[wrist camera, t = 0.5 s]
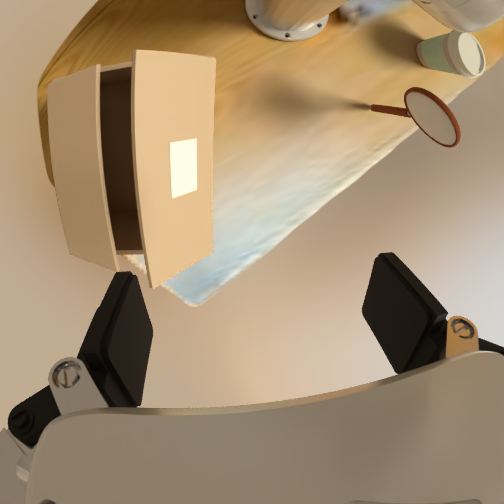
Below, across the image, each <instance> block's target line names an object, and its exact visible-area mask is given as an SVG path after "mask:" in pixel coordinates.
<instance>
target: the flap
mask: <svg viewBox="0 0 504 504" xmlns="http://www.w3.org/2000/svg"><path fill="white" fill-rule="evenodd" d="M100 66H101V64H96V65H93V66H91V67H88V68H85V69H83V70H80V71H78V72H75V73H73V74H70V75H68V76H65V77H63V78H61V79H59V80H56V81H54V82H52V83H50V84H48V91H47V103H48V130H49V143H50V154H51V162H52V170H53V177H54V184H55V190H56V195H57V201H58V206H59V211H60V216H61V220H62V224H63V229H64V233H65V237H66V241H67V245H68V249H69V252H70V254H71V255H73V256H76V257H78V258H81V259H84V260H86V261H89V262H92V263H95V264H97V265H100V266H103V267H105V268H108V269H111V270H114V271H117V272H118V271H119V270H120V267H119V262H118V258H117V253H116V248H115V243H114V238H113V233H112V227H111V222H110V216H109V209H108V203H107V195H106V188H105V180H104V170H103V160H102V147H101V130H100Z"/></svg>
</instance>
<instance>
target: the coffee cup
mask: <svg viewBox="0 0 504 504" xmlns="http://www.w3.org/2000/svg"><path fill="white" fill-rule="evenodd" d="M416 51H417V56H418V59H419V60H420V62H421V63H422V65H423V66H425V67H426V68H428V69H433V70H438V71H444V72H449V73H454V74H459V75H463V76H464V77H466V78H476V77H477V76H480V75H482V74H483V72H484V70H485V56H484V53H483V50H482V48H481V46H480V44H479V42H478V41H477V40H476V38H475V37H474V36H472V35H471V34H469V33H466V32H459V31H455V30H453V31H451V32H450V33H448V34H444V35H441V36H437V37H434V38H430V39H427V40H424V41H421V42H419V43H418V45H417V49H416Z"/></svg>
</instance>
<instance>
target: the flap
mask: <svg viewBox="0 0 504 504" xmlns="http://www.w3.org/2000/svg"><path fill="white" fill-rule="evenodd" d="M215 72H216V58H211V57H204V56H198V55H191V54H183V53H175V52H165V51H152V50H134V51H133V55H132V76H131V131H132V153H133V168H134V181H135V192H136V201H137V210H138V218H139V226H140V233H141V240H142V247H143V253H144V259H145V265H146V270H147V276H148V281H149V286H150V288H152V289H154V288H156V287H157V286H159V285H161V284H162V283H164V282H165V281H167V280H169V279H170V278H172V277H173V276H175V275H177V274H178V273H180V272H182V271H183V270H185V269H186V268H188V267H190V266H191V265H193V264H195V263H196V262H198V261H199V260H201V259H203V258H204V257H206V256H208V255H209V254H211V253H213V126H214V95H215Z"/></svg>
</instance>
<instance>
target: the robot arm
mask: <svg viewBox="0 0 504 504" xmlns="http://www.w3.org/2000/svg"><path fill="white" fill-rule="evenodd" d="M347 1H349V0H245V9H246V13H247V15H248V18H249V19H250V21H251V22H252V24H253V25H254V26H255V27H256V28H257V29H258V30H260V31H261V32H263V33H264V34H266V35H268V36H270V37H272V38H275V39H278V40H283V41H302V40H306V39H309V38H311V37H313V36H315V35H316V34H318V33H319V32H320V31H321V30H322V29H323V28H324V27H325V25H326V23H327V21H328V17H329V13H330V12H332V11H333V10H335V9H336V8H338V7H339V6H341V5H343V4H344V3H346V2H347ZM412 1H413V2H414V3H416V4H417V5H418V6H420V7H421V8H422V9H423V10H425V11H426V12H427V13H428V14H429V15H431V16H432V17H433V18H435V19H436V20H437V21H439V22H440V23H441V24H443V25H445V26H446V27H448V28H450V29H452V30H455V31H459V32H475V31H479V30H482V29H485V28H487V27H489V26H491V25H493V24H494V23H496V22H497V21H499V20H500V19H502V18H503V17H504V0H412ZM253 17H256V19H254V18H253ZM317 26H319V27H317ZM285 35H287V36H288V38H286V37H285ZM362 313H363V316H364V318H365V320H366V321H367V323H368V325H369V326H370V328H371V330H372V331H373V333H374V335H375V337H376V339H377V340H378V342H379V344H380V346H381V347H382V349H383V351H384V353H385V355H386V356H387V358H388V360H389V362H390V364H391V365H392V367H393V369H394V371H395V372H396V373H397V374H398V375H395V376H392V377H388V378H386V379H382V380H378V381H374V382H371V383H367V384H363V385H359V386H356V387H351V388H347V389H343V390H339V391H334V392H329V393H324V394H319V395H314V396H308V397H303V398H297V399H290V400H283V401H276V402H268V403H260V404H251V405H240V406H229V407H228V406H227V407H210V408H137V406H140V405H141V402H142V395H143V389H144V382H145V376H146V370H147V364H148V358H149V353H150V348H151V343H152V338H153V328H152V324H151V321H150V319H149V315H148V312H147V309H146V306H145V302H144V299H143V296H142V292H141V289H140V285H139V282H138V278H137V276H136V275H133V274H132V272H130V271H129V272H128V271H127V272H116V273H115V275H114V277H113V280H112V281H111V283H110V285H109V288H108V290H107V292H106V294H105V296H104V299H103V300H102V303H101V305H100V307H98V309H97V310H96V313H95V315H94V317H93V319H92V322H91V324H90V326H89V329H88V331H87V333H86V336H85V338H84V341H83V343H82V346H81V348H80V351H79V353H78V356H77V358H74V357H67V358H64V359H61V360H59V361H58V362H57V363H55V364H54V366H53V367H52V368H51V370H50V372H49V377H48V380H49V385H48V386H47V387H45V388H43V389H42V390H40V391H39V392H37V393H36V394H34V395H33V396H31V397H29V398H28V399H26V400H25V401H23V402H21V403H20V404H18V405H17V406H15V407H14V408H13V409H12V411H11V412H10V414H9V417H8V429H7V430H6V429H5V428H3V429H2V431H1V432H0V504H504V347H501V346H499V345H496V344H493V343H491V342H488V341H486V340H483V339H481V338H478V332H477V329H476V327H475V325H474V324H473V323H472V322H471V321H470V320H468V319H466V318H464V317H461V316H453V317H451V318H450V319H449V320H448V321H447V320H446V316H447V314H448V312H447V311H446V310H445V308H444V307H443V306H442V305H441V304H440V302H439V301H438V300H437V299H436V298H435V297H434V296H433V294H432V293H431V292H430V291H429V290H428V289H427V288H426V287H425V286H424V285H423V283H422V282H421V281H420V280H419V279H418V278H417V277H416V276H415V275H414V274H413V273H412V271H411V270H410V269H409V268H408V267H407V266H406V265H405V264H404V263H403V262H402V261H401V260H400V259H399V258H398V257H397V256H396V255H395V254H394V253H392V252H390V253H380V254H379V255H378V257H376V258H375V261H374V265H373V269H372V273H371V277H370V281H369V285H368V289H367V292H366V296H365V300H364V303H363V307H362Z"/></svg>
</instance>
